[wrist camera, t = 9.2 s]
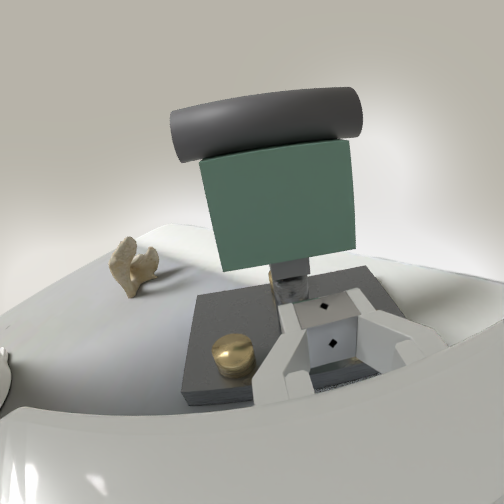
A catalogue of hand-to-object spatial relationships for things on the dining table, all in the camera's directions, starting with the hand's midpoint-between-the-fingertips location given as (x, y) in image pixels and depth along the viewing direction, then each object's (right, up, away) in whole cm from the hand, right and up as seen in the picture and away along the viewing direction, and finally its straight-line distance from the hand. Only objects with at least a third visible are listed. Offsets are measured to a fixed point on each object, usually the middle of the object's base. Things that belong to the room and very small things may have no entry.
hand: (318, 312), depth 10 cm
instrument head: (+1, +1, +14) cm, 14 cm away
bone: (-20, -3, +32) cm, 38 cm away
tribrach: (+2, -6, +17) cm, 18 cm away
